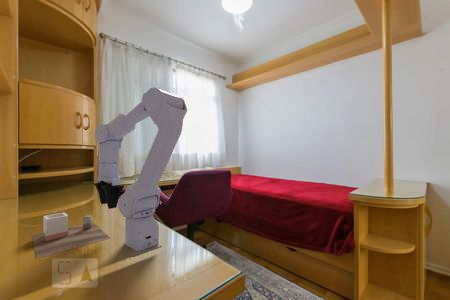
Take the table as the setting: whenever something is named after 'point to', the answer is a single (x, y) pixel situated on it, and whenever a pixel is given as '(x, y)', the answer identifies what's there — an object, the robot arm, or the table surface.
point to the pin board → (69, 239)
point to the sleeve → (55, 226)
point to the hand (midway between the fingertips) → (108, 205)
